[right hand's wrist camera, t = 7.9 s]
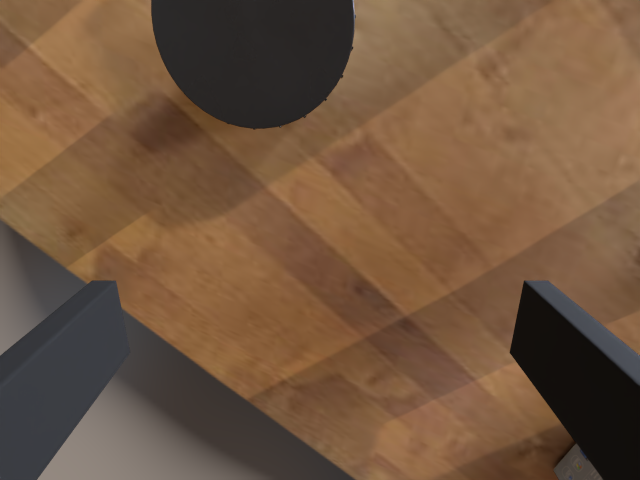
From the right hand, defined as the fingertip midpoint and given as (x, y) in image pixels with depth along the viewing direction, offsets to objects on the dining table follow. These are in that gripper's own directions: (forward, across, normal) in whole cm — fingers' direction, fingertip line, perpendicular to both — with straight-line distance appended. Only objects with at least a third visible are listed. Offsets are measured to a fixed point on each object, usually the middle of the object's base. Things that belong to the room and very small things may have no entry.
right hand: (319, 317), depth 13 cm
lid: (+10, -3, +10) cm, 14 cm away
